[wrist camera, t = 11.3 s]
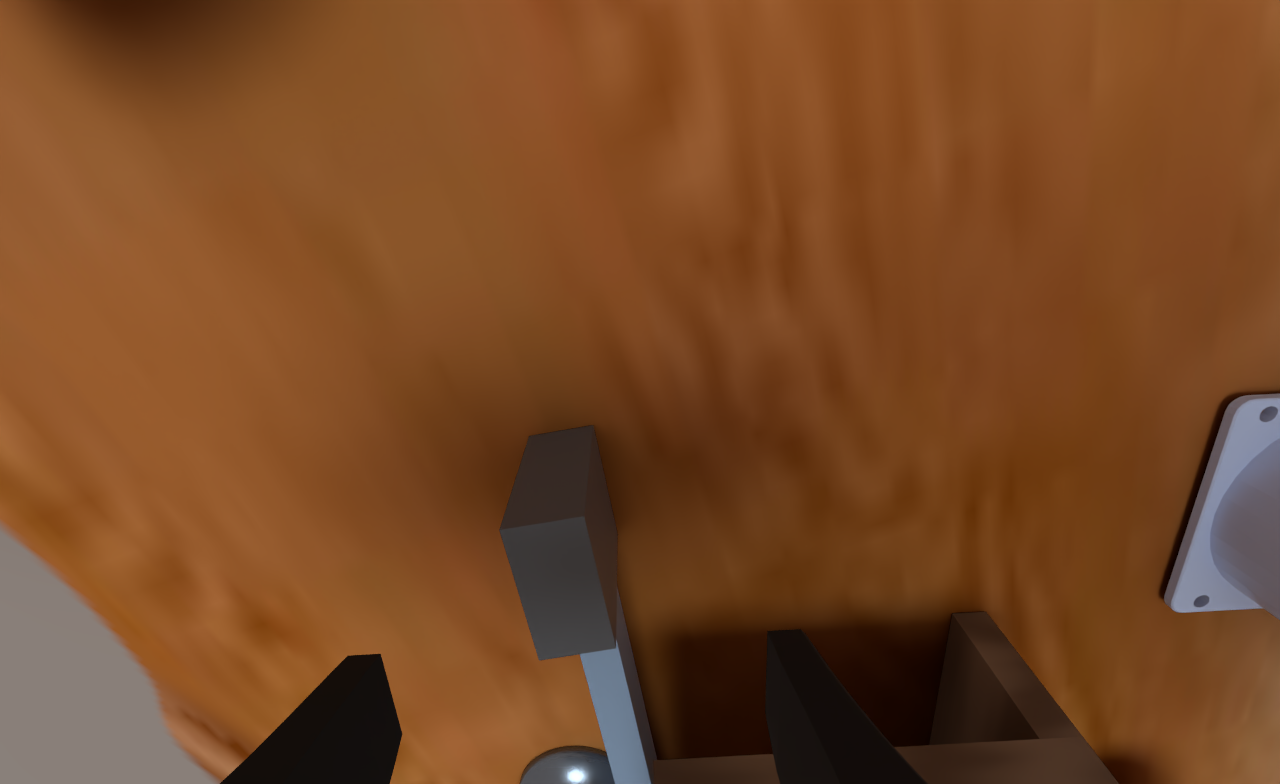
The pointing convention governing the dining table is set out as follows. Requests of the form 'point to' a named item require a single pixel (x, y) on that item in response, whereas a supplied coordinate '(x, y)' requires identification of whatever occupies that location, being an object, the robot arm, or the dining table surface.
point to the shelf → (959, 726)
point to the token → (569, 767)
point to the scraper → (578, 585)
